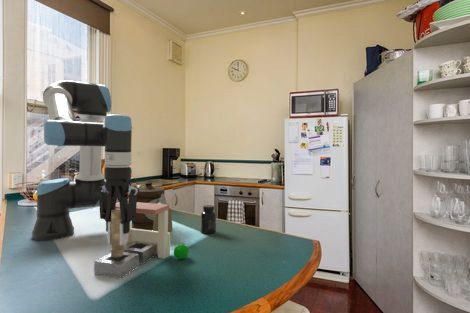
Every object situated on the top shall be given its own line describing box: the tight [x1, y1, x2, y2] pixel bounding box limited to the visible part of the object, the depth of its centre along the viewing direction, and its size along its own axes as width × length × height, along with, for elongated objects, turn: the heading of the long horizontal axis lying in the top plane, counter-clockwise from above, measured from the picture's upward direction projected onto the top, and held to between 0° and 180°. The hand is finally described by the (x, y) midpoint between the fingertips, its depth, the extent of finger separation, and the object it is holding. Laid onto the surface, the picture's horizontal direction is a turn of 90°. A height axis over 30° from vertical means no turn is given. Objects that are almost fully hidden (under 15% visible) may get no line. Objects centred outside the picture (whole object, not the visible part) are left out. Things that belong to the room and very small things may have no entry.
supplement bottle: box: [200, 204, 217, 236], centre depth 130 cm, size 7×7×12 cm
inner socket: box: [124, 241, 158, 265], centre depth 99 cm, size 9×9×4 cm
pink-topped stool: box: [115, 202, 171, 260], centre depth 100 cm, size 18×10×18 cm, turn 74°
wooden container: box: [131, 180, 165, 231], centre depth 137 cm, size 15×15×22 cm
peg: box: [110, 209, 124, 258], centre depth 89 cm, size 4×4×14 cm
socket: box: [93, 252, 140, 279], centre depth 89 cm, size 9×9×4 cm
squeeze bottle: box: [153, 193, 174, 235], centre depth 122 cm, size 8×8×18 cm
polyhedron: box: [173, 243, 189, 260], centre depth 100 cm, size 5×5×5 cm
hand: (117, 242), depth 89 cm, fingers closed on peg, 3 cm apart
